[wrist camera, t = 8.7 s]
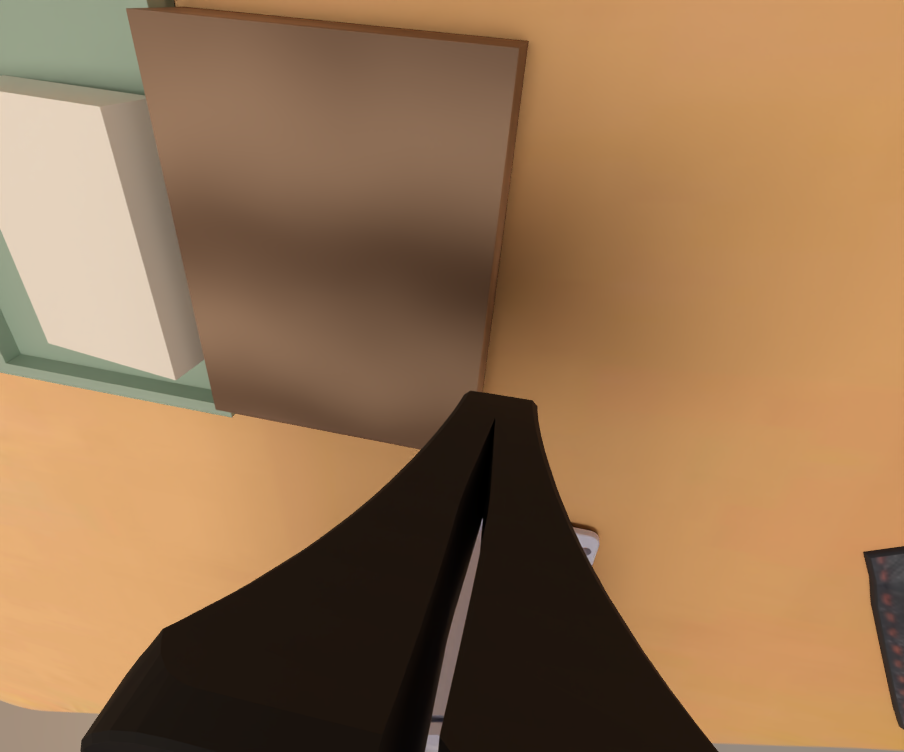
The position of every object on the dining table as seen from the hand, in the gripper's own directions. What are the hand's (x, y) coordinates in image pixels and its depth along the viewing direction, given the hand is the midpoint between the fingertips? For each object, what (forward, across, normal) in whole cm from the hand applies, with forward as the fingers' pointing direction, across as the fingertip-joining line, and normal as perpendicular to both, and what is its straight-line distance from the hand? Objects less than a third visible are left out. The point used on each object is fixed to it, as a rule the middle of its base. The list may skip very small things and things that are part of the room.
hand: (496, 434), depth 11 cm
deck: (+9, +6, 0) cm, 11 cm away
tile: (+8, +15, 0) cm, 17 cm away
